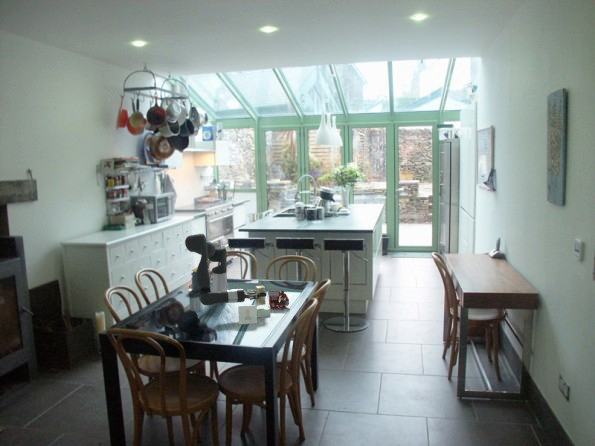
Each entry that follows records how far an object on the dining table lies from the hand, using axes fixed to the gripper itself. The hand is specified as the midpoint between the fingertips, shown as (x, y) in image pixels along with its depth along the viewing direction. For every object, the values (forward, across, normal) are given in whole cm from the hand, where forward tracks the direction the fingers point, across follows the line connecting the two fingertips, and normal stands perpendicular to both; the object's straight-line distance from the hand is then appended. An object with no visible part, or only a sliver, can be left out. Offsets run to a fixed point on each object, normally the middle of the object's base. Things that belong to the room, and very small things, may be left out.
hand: (265, 293), depth 284 cm
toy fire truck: (+10, +10, +13) cm, 19 cm away
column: (-3, 0, +6) cm, 7 cm away
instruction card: (-13, -12, +13) cm, 22 cm away
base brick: (-2, 0, +13) cm, 13 cm away
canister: (-30, +67, +12) cm, 74 cm away
